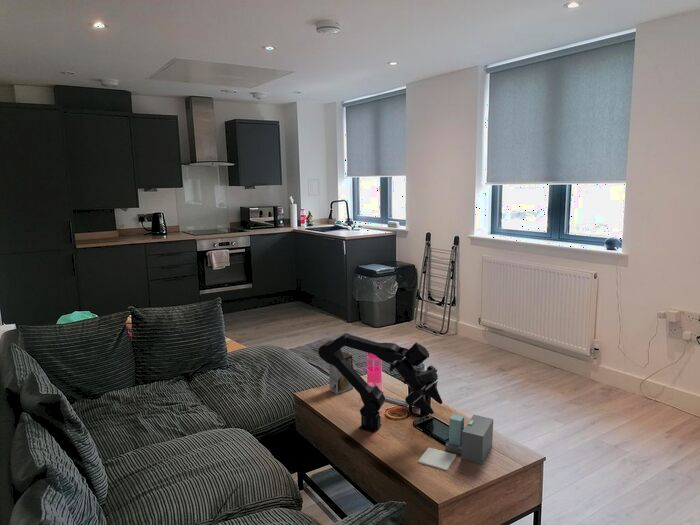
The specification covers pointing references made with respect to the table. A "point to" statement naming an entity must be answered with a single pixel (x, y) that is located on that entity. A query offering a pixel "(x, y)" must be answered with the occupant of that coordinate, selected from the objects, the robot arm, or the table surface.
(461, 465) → the table surface
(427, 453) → the mat
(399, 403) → the adjustable wrench
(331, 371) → the coffee box
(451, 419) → the key block
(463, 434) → the charging dock
